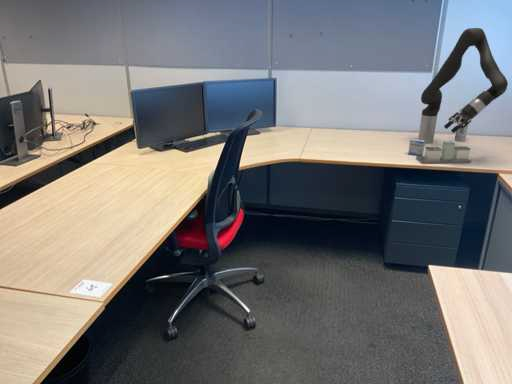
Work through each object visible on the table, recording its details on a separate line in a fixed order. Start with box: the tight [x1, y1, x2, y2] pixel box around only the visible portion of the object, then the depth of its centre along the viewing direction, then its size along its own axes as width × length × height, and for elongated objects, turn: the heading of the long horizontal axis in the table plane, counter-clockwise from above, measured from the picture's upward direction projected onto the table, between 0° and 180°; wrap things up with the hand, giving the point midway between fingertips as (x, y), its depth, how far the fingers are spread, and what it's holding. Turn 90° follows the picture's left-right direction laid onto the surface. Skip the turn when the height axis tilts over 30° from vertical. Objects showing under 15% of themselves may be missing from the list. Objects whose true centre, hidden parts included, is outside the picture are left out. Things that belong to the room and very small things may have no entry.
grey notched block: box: [415, 146, 472, 165], centre depth 237 cm, size 9×27×8 cm, turn 92°
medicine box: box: [407, 138, 426, 157], centre depth 248 cm, size 8×4×9 cm, turn 62°
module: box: [441, 140, 456, 160], centre depth 236 cm, size 4×5×9 cm
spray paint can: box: [454, 108, 469, 142], centre depth 273 cm, size 6×6×20 cm
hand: (448, 129), depth 231 cm, fingers open, 8 cm apart
